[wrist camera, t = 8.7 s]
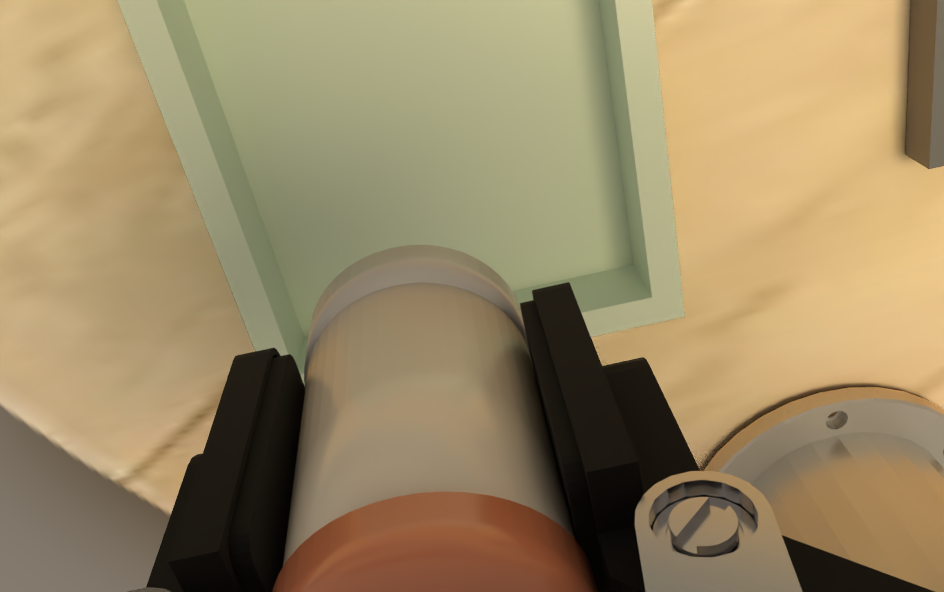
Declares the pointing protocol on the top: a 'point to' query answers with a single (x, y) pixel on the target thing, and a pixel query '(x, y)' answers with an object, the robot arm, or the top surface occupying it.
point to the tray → (420, 145)
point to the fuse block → (926, 84)
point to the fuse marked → (425, 439)
